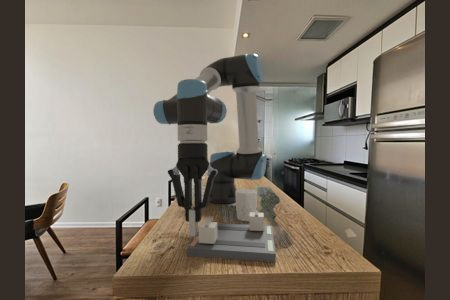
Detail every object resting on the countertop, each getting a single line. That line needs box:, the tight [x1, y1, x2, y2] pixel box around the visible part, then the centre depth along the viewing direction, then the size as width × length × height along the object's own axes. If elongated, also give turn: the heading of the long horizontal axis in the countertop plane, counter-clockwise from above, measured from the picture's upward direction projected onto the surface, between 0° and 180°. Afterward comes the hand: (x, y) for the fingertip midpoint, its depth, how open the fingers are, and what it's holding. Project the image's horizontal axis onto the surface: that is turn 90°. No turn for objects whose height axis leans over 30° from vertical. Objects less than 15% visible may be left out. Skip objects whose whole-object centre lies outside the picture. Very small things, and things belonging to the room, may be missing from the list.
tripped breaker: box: [198, 219, 218, 244], centre depth 59 cm, size 4×4×5 cm
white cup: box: [235, 188, 258, 222], centre depth 83 cm, size 8×8×10 cm
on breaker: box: [248, 209, 265, 231], centre depth 67 cm, size 4×4×5 cm
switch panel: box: [186, 222, 277, 263], centre depth 63 cm, size 18×21×2 cm
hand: (193, 233), depth 60 cm, fingers closed
